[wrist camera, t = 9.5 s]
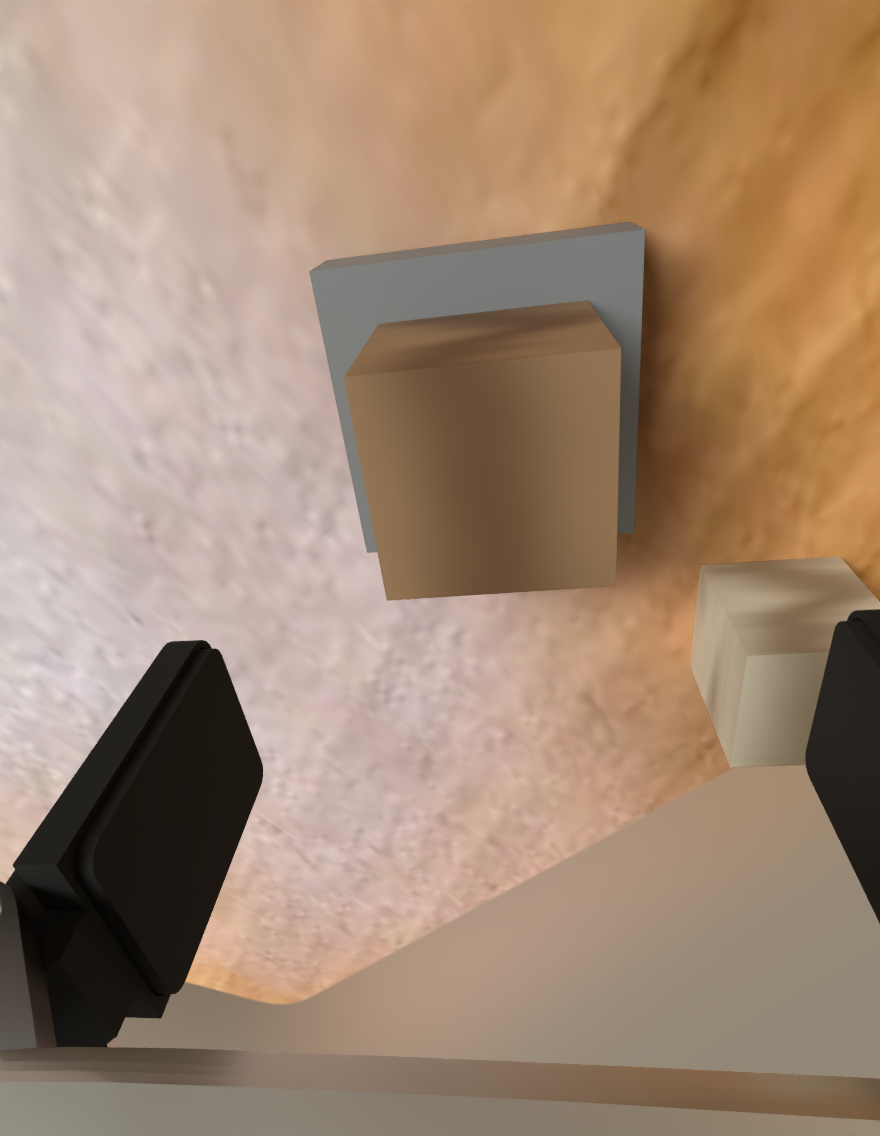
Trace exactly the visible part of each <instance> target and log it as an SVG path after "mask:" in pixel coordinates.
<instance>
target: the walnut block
mask: <svg viewBox="0 0 880 1136" xmlns="http://www.w3.org/2000/svg"><path fill="white" fill-rule="evenodd" d="M620 379H621V347H620V346H619V344H618V343H617V341H616V340H615V339H614V337H613V336H612V334H611V333H610V331H609V330H608V329H607V327H606V326H605V324H604V323H603V321H602V320H601V318H600V317H599V316H598V314H597V313H596V311H595V310H594V308H593V307H592V305H591V304H590V303H589V301H588V300H584V301H575V302H566V303H557V304H548V305H540V306H531V307H522V308H513V309H504V310H495V311H486V312H478V313H469V314H460V315H451V316H442V317H433V318H424V319H415V320H407V321H398V322H389V323H380V324H378V325H377V327H376V328H375V330H374V332H373V333H372V335H371V336H370V338H369V339H368V341H367V342H366V344H365V345H364V347H363V348H362V350H361V351H360V353H359V354H358V356H357V357H356V359H355V361H354V362H353V364H352V365H351V367H350V368H349V370H348V371H347V373H346V374H345V376H344V382H345V387H346V392H347V397H348V402H349V408H350V413H351V418H352V423H353V428H354V433H355V439H356V444H357V449H358V454H359V459H360V464H361V469H362V475H363V480H364V485H365V490H366V495H367V500H368V506H369V511H370V516H371V521H372V526H373V531H374V536H375V542H376V547H377V552H378V557H379V562H380V567H381V573H382V578H383V583H384V588H385V593H386V598H387V601H388V600H403V599H419V598H434V597H450V596H466V595H481V594H497V593H512V592H528V591H544V590H559V589H575V588H590V587H606V586H616V559H617V514H618V469H619V424H620Z"/></svg>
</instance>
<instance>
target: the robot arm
mask: <svg viewBox="0 0 880 1136" xmlns="http://www.w3.org/2000/svg"><path fill="white" fill-rule="evenodd" d="M805 762H806V768H807V771H808V775H809V777H810V780H811V782H812V784H813V786H814V788H815V790H816V792H817V794H818V796H819V798H820V801H821V803H822V805H823V807H824V809H825V811H826V813H827V815H828V817H829V819H830V821H831V823H832V825H833V827H834V829H835V832H836V834H837V836H838V838H839V840H840V842H841V844H842V846H843V848H844V850H845V852H846V854H847V856H848V859H849V861H850V863H851V865H852V867H853V869H854V871H855V873H856V875H857V877H858V879H859V881H860V883H861V885H862V887H863V890H864V892H865V894H866V895H867V898H868V900H869V902H870V904H871V906H872V908H873V910H874V912H875V914H876V916H877V919H878V921H879V923H880V609H874V610H856V611H853V612H852V613H851V614H850V615H849V616H848V619H847V621H840V622H838V623H837V625H836V626H835V629H834V633H833V637H832V642H831V646H830V650H829V654H828V659H827V663H826V667H825V671H824V676H823V680H822V684H821V688H820V693H819V697H818V701H817V705H816V710H815V714H814V718H813V722H812V727H811V731H810V735H809V739H808V744H807V748H806V753H805ZM262 778H263V765H262V761H261V758H260V756H259V753H258V750H257V748H256V745H255V742H254V740H253V737H252V734H251V732H250V729H249V726H248V724H247V721H246V718H245V716H244V713H243V710H242V708H241V705H240V702H239V700H238V697H237V694H236V692H235V689H234V686H233V684H232V681H231V678H230V676H229V673H228V670H227V668H226V665H225V662H224V660H223V657H222V655H221V653H220V651H219V650H218V649H212V648H211V646H210V644H209V643H207V642H206V641H203V640H196V641H174V642H169V643H167V644H166V645H165V646H164V647H163V648H162V650H161V651H160V653H159V654H158V656H157V657H156V658H155V660H154V661H153V663H152V664H151V666H150V667H149V669H148V670H147V671H146V673H145V674H144V676H143V677H142V679H141V680H140V682H139V683H138V684H137V686H136V687H135V689H134V690H133V692H132V693H131V695H130V696H129V697H128V699H127V700H126V702H125V703H124V705H123V706H122V708H121V709H120V710H119V712H118V713H117V715H116V716H115V718H114V719H113V721H112V722H111V723H110V725H109V726H108V728H107V729H106V731H105V732H104V734H103V735H102V736H101V738H100V739H99V741H98V742H97V744H96V745H95V747H94V748H93V749H92V751H91V752H90V754H89V755H88V757H87V758H86V760H85V761H84V762H83V764H82V765H81V767H80V768H79V770H78V771H77V773H76V774H75V776H74V777H73V778H72V780H71V781H70V783H69V784H68V786H67V787H66V789H65V790H64V791H63V793H62V794H61V796H60V797H59V799H58V800H57V802H56V803H55V804H54V806H53V807H52V809H51V810H50V812H49V813H48V815H47V816H46V817H45V819H44V820H43V822H42V823H41V825H40V826H39V828H38V829H37V830H36V832H35V833H34V835H33V836H32V838H31V839H30V841H29V842H28V843H27V845H26V846H25V848H24V849H23V851H22V852H21V854H20V855H19V856H18V858H17V859H16V861H15V862H14V864H13V867H14V868H15V871H14V872H13V874H12V875H11V877H10V878H9V880H8V881H7V883H6V884H4V883H3V882H1V881H0V1136H880V1079H872V1078H857V1077H836V1076H816V1075H795V1074H774V1073H753V1072H732V1071H710V1070H690V1069H670V1068H669V1069H668V1068H649V1067H626V1066H605V1065H581V1064H558V1063H536V1062H512V1061H490V1060H465V1059H442V1058H418V1057H417V1058H415V1057H393V1056H370V1055H369V1056H368V1055H343V1054H315V1053H288V1052H262V1051H236V1050H235V1051H234V1050H209V1049H177V1048H119V1046H118V1042H117V1038H116V1037H117V1035H118V1032H119V1030H120V1028H121V1026H122V1023H123V1021H124V1019H125V1017H136V1018H161V1017H162V1015H163V1012H164V1010H165V1007H166V1005H167V1002H168V1000H169V997H170V995H171V994H176V993H177V992H178V991H179V990H180V989H181V988H182V986H183V984H184V982H185V980H186V978H187V975H188V973H189V970H190V967H191V965H192V962H193V960H194V957H195V955H196V952H197V949H198V947H199V944H200V942H201V939H202V936H203V934H204V931H205V929H206V926H207V924H208V921H209V918H210V916H211V913H212V911H213V908H214V905H215V903H216V900H217V898H218V895H219V893H220V890H221V887H222V885H223V882H224V880H225V877H226V874H227V872H228V869H229V867H230V864H231V862H232V859H233V856H234V854H235V851H236V849H237V846H238V843H239V841H240V838H241V836H242V833H243V831H244V828H245V825H246V823H247V820H248V818H249V815H250V812H251V810H252V807H253V805H254V802H255V800H256V797H257V794H258V792H259V789H260V787H261V783H262Z"/></svg>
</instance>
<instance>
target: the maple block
mask: <svg viewBox="0 0 880 1136" xmlns="http://www.w3.org/2000/svg"><path fill="white" fill-rule="evenodd" d="M874 609H880V601H879V600H878V599H877V598H876V597H875V596H874V595H873V593H872V592H871V591H870V590H869V589H868V588H867V587H866V585H865V584H864V583H863V582H862V581H861V580H860V579H859V578H858V576H857V575H856V574H855V573H854V572H853V571H852V570H851V568H850V567H849V566H848V565H847V564H846V563H845V562H844V560H843V559H842V558H841V557H840V556H834V557H819V558H804V559H789V560H774V561H759V562H744V563H729V564H714V565H700V574H699V584H698V594H697V604H696V615H695V625H694V635H693V645H692V655H691V665H690V667H691V670H692V672H693V675H694V677H695V680H696V682H697V685H698V688H699V690H700V693H701V695H702V698H703V700H704V703H705V705H706V708H707V710H708V713H709V715H710V718H711V720H712V723H713V726H714V728H715V731H716V733H717V736H718V738H719V741H720V743H721V746H722V748H723V751H724V753H725V756H726V758H727V761H728V764H729V766H730V767H754V766H755V767H756V766H785V765H786V766H787V765H806V762H805V753H806V748H807V744H808V739H809V735H810V731H811V727H812V722H813V718H814V714H815V710H816V705H817V701H818V697H819V693H820V688H821V684H822V680H823V676H824V671H825V667H826V663H827V659H828V654H829V650H830V646H831V642H832V637H833V633H834V629H835V626H836V625H837V623H838V622H840V621H847V619H848V616H849V615H850V614H851V613H852V612H853V611H856V610H874Z"/></svg>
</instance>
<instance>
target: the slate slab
mask: <svg viewBox="0 0 880 1136" xmlns="http://www.w3.org/2000/svg"><path fill="white" fill-rule="evenodd" d="M644 245H645V229H644V228H641V227H639V226H637V225H635V224H633V223H631V222H625V223H618V224H610V225H602V226H594V227H586V228H578V229H570V230H563V231H555V232H547V233H539V234H531V235H523V236H515V237H508V238H500V239H492V240H484V241H476V242H468V243H461V244H453V245H445V246H437V247H429V248H421V249H413V250H406V251H398V252H390V253H382V254H374V255H366V256H358V257H351V258H343V259H335V260H327V261H325V262H323V263H322V264H320V265H319V266H317V267H316V268H314V269H312V270H311V271H309V272H310V277H311V282H312V287H313V292H314V297H315V301H316V306H317V311H318V316H319V321H320V326H321V331H322V336H323V340H324V345H325V350H326V355H327V360H328V365H329V370H330V374H331V379H332V384H333V389H334V394H335V399H336V404H337V408H338V413H339V418H340V423H341V428H342V433H343V438H344V442H345V447H346V452H347V457H348V462H349V467H350V472H351V476H352V481H353V486H354V491H355V496H356V501H357V506H358V510H359V515H360V520H361V525H362V530H363V535H364V540H365V544H366V549H367V553H370V552H377V547H376V542H375V536H374V531H373V526H372V521H371V516H370V511H369V506H368V500H367V495H366V490H365V485H364V480H363V475H362V469H361V464H360V459H359V454H358V449H357V444H356V439H355V433H354V428H353V423H352V418H351V413H350V408H349V402H348V397H347V392H346V387H345V382H344V376H345V374H346V373H347V371H348V370H349V368H350V367H351V365H352V364H353V362H354V361H355V359H356V357H357V356H358V354H359V353H360V351H361V350H362V348H363V347H364V345H365V344H366V342H367V341H368V339H369V338H370V336H371V335H372V333H373V332H374V330H375V328H376V327H377V325H378V324H380V323H389V322H398V321H407V320H415V319H424V318H433V317H442V316H451V315H460V314H469V313H478V312H486V311H495V310H504V309H513V308H522V307H531V306H540V305H548V304H557V303H566V302H575V301H584V300H588V301H589V303H590V304H591V305H592V307H593V308H594V310H595V311H596V313H597V314H598V316H599V317H600V318H601V320H602V321H603V323H604V324H605V326H606V327H607V329H608V330H609V331H610V333H611V334H612V336H613V337H614V339H615V340H616V341H617V343H618V344H619V346H620V347H621V379H620V424H619V469H618V514H617V534H625V533H634V529H635V501H636V473H637V444H638V416H639V387H640V359H641V331H642V302H643V274H644Z"/></svg>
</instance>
